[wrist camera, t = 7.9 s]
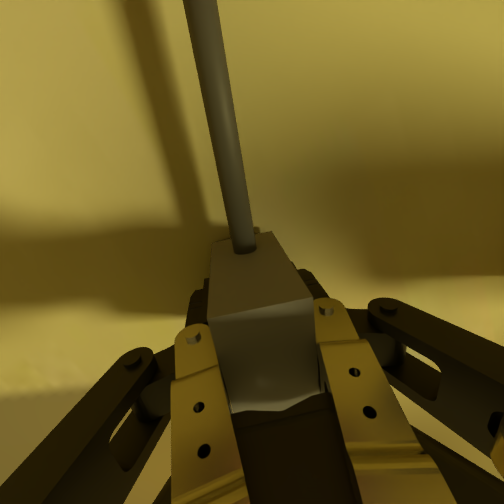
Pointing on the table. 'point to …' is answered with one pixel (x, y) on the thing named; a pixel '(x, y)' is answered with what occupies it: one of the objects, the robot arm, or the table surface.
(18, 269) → the table surface
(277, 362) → the block
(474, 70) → the table surface
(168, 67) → the table surface
